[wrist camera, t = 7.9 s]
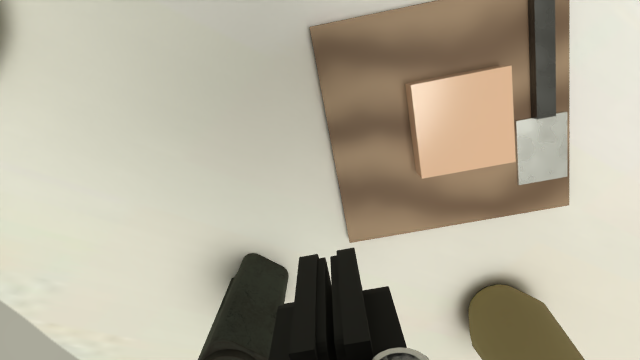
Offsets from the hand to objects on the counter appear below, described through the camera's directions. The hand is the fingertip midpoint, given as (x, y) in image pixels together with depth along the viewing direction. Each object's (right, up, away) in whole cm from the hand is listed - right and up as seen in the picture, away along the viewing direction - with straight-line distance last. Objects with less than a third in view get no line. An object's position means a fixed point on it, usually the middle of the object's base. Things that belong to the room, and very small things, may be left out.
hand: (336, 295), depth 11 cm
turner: (+18, +11, +21) cm, 30 cm away
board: (+11, +9, +23) cm, 27 cm away
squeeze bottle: (+18, -10, +29) cm, 36 cm away
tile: (+8, +8, +21) cm, 24 cm away
